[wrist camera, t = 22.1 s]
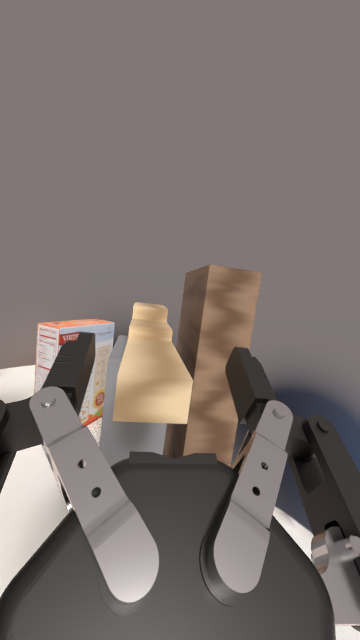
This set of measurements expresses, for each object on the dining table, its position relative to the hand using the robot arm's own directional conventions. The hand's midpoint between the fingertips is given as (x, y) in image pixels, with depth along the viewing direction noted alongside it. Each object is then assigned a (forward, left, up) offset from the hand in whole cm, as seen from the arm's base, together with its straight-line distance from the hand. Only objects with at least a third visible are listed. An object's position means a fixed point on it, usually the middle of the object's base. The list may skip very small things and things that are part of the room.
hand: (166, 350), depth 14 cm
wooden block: (+8, +19, -25) cm, 32 cm away
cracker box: (-13, +35, -25) cm, 45 cm away
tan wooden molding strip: (-1, +11, -4) cm, 11 cm away
